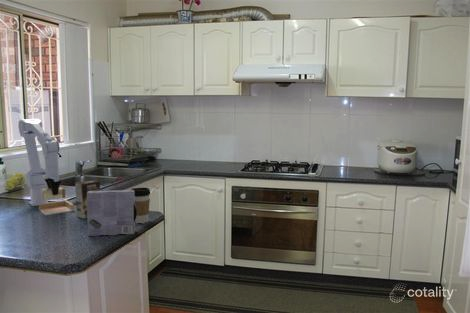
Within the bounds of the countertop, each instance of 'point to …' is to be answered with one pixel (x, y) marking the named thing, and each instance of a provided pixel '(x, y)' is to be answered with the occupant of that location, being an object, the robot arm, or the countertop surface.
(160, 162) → the countertop surface
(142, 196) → the coffee cup
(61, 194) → the maple block
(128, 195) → the cake pan box
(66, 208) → the arena
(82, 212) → the coffee box
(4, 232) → the countertop surface
